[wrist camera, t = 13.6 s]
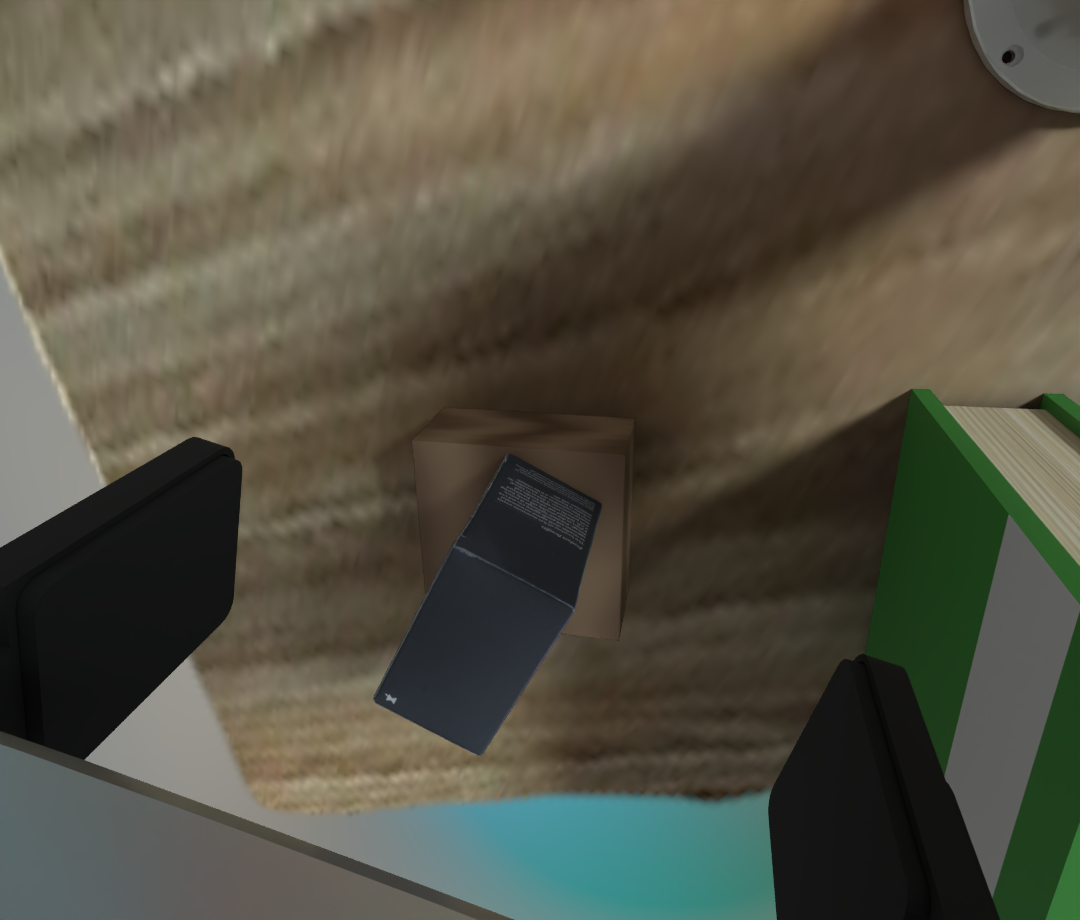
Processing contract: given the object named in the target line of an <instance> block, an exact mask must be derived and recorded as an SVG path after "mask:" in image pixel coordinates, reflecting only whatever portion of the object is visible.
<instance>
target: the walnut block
mask: <svg viewBox="0 0 1080 920" xmlns="http://www.w3.org/2000/svg"><path fill="white" fill-rule="evenodd" d="M634 432H635V419H634V418H617V417H600V416H582V415H565V414H548V413H531V412H513V411H496V410H479V409H462V408H443V409H442V410H441V411H440V412H439V413H438V414H437V415H436V416H435V417H434V418H433V419H432V420H431V422H430V423H429V424H428V425H427V426H426V427H425V428H424V429H423V430H422V431H421V432H420V433H419V434H418V435H417V436H416V437H415V438H414V439H413V440H412V449H413V460H414V471H415V482H416V493H417V505H418V516H419V527H420V538H421V549H422V561H423V572H424V583H425V594H427V592H428V590H429V588H430V586H431V584H432V582H433V580H434V578H435V576H436V574H437V573H438V571H439V569H440V567H441V565H442V563H443V561H444V559H445V557H446V555H447V554H448V552H449V550H450V548H451V546H452V544H453V543H454V541H455V540H456V538H457V537H458V536H459V534H460V533H461V531H462V530H463V529H464V527H465V526H466V524H467V522H468V520H469V519H470V517H471V515H472V514H473V512H474V510H475V508H476V507H477V505H478V503H479V501H480V500H481V498H482V496H483V494H484V493H485V491H486V489H487V487H488V486H489V484H490V482H491V480H492V478H493V477H494V475H495V473H496V471H497V470H498V468H499V466H500V464H501V462H502V460H503V458H504V456H505V455H506V454H512V455H514V456H516V457H518V458H520V459H522V460H523V461H525V462H527V463H529V464H531V465H532V466H534V467H536V468H538V469H540V470H542V471H544V472H545V473H547V474H549V475H551V476H553V477H555V478H557V479H559V480H560V481H562V482H564V483H566V484H568V485H569V486H571V487H573V488H575V489H577V490H578V491H580V492H582V493H584V494H586V495H587V496H589V497H591V498H593V499H595V500H596V501H598V502H600V503H601V504H602V510H601V513H600V518H599V521H598V525H597V528H596V531H595V535H594V539H593V543H592V547H591V550H590V554H589V557H588V561H587V565H586V569H585V573H584V576H583V580H582V584H581V588H580V591H579V595H578V600H577V603H576V607H575V612H574V613H573V615H572V616H571V618H570V619H569V621H568V623H567V624H566V626H565V627H564V629H563V630H562V632H561V633H560V634H566V635H575V636H584V637H592V638H601V639H610V640H618V641H619V638H620V633H621V627H622V622H623V616H624V611H625V605H626V600H627V595H628V589H629V565H630V538H631V512H632V485H633V459H634Z"/></svg>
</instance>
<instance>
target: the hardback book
mask: <svg viewBox="0 0 1080 920" xmlns="http://www.w3.org/2000/svg"><path fill="white" fill-rule="evenodd" d="M865 654H866V655H868V656H871V657H874V658H878V659H881V660H884V661H887V662H890V663H893V664H896V665H899V666H901V667H903V668H905V670H906V672H907V674H908V677H909V680H910V682H911V685H912V688H913V691H914V693H915V696H916V699H917V702H918V705H919V707H920V710H921V713H922V716H923V718H924V721H925V724H926V727H927V730H928V732H929V735H930V738H931V741H932V743H933V746H934V749H935V752H936V755H937V757H938V760H939V763H940V766H941V769H942V771H943V774H944V777H945V780H946V782H947V783H949V785H950V787H951V789H952V791H953V793H954V795H955V797H956V800H957V803H958V806H959V808H960V811H961V814H962V816H963V819H964V822H965V825H966V827H967V830H968V833H969V836H970V838H971V841H972V844H973V847H974V849H975V852H976V855H977V858H978V860H979V863H980V866H981V869H982V871H983V874H984V877H985V879H986V882H987V885H988V888H989V890H990V893H991V896H992V899H993V901H994V904H995V907H996V910H997V912H998V915H999V918H1000V920H1080V406H1079V405H1077V404H1076V403H1075V402H1073V401H1072V400H1071V399H1069V398H1068V397H1067V396H1065V395H1064V394H1045V393H1044V394H1043V398H1042V403H1041V407H1040V409H1015V408H989V407H963V406H943V404H942V403H941V402H940V401H939V400H938V398H937V397H936V396H935V395H934V394H933V393H932V391H931V390H929V389H911V395H910V401H909V406H908V412H907V418H906V423H905V429H904V435H903V441H902V446H901V452H900V458H899V464H898V469H897V475H896V481H895V486H894V492H893V498H892V504H891V509H890V515H889V521H888V526H887V532H886V538H885V544H884V549H883V555H882V561H881V566H880V572H879V578H878V584H877V589H876V595H875V601H874V606H873V612H872V618H871V624H870V629H869V635H868V641H867V646H866V652H865Z"/></svg>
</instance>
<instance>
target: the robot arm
mask: <svg viewBox="0 0 1080 920" xmlns="http://www.w3.org/2000/svg"><path fill="white" fill-rule="evenodd" d="M964 12H965V19H966V23H967V26H968V30H969V33H970V36H971V40H972V43H973V45H974V47H975V49H976V51H977V53H978V54H979V56H980V58H981V60H982V62H983V63H984V65H985V67H986V68H987V69H988V70H989V71H990V72H991V74H992V75H993V76H994V77H995V78H996V79H997V80H998V81H999V82H1000V83H1001V84H1002V85H1003V86H1004V87H1005V88H1007V89H1008V90H1010V91H1011V92H1013V93H1014V94H1016V95H1017V96H1019V97H1020V98H1022V99H1023V100H1025V101H1028V102H1031V103H1033V104H1036V105H1039V106H1041V107H1044V108H1047V109H1050V110H1057V111H1064V112H1070V113H1080V0H964ZM1006 51H1009V52H1010V53H1011V55H1012V57H1011V60H1010V61H1009V63H1007V64H1005V63H1004V62H1003V61H1002V55H1003V54H1004V52H1006ZM241 482H242V465H241V463H240V462H239V461H238V460H235V456H234V453H233V451H232V450H231V449H230V448H228V447H225V446H222V445H219V444H216V443H213V442H210V441H207V440H204V439H201V438H197V437H192V438H189V439H187V440H185V441H184V442H182V443H180V444H179V445H177V446H175V447H173V448H172V449H170V450H168V451H166V452H165V453H163V454H161V455H160V456H158V457H156V458H154V459H153V460H151V461H149V462H147V463H146V464H144V465H142V466H141V467H139V468H137V469H135V470H134V471H132V472H130V473H128V474H127V475H125V476H123V477H122V478H120V479H118V480H116V481H115V482H113V483H111V484H109V485H108V486H106V487H104V488H103V489H101V490H99V491H97V492H96V493H94V494H92V495H90V496H89V497H87V498H85V499H84V500H82V501H80V502H78V503H77V504H75V505H73V506H72V507H70V508H68V509H66V510H65V511H63V512H61V513H59V514H58V515H56V516H54V517H53V518H51V519H49V520H47V521H46V522H44V523H42V524H41V525H39V526H37V527H35V528H34V529H32V530H30V531H28V532H27V533H25V534H23V535H22V536H20V537H18V538H16V539H15V540H13V541H11V542H9V543H8V544H6V545H4V546H3V547H1V548H0V920H513V919H511V918H508V917H506V916H503V915H500V914H498V913H495V912H492V911H490V910H487V909H484V908H482V907H479V906H476V905H474V904H471V903H468V902H466V901H463V900H460V899H457V898H455V897H452V896H450V895H447V894H444V893H442V892H439V891H436V890H434V889H431V888H428V887H426V886H423V885H420V884H418V883H415V882H412V881H409V880H407V879H404V878H402V877H399V876H396V875H394V874H391V873H388V872H386V871H383V870H380V869H378V868H375V867H372V866H370V865H367V864H364V863H362V862H359V861H356V860H354V859H351V858H348V857H345V856H343V855H340V854H337V853H335V852H332V851H329V850H327V849H324V848H321V847H319V846H316V845H313V844H310V843H308V842H305V841H303V840H300V839H297V838H294V837H292V836H289V835H286V834H284V833H281V832H278V831H276V830H273V829H270V828H268V827H265V826H262V825H259V824H257V823H254V822H251V821H249V820H246V819H243V818H240V817H238V816H235V815H232V814H229V813H227V812H224V811H221V810H219V809H216V808H213V807H210V806H208V805H205V804H202V803H199V802H197V801H194V800H191V799H189V798H186V797H183V796H180V795H177V794H175V793H172V792H170V791H167V790H164V789H161V788H159V787H156V786H153V785H151V784H148V783H145V782H142V781H140V780H137V779H134V778H131V777H128V776H126V775H123V774H121V773H118V772H115V771H112V770H109V769H107V768H104V767H101V766H99V765H96V764H93V763H91V762H88V761H85V759H86V757H88V756H89V754H90V753H91V752H93V751H94V750H95V748H97V747H98V746H99V745H100V744H101V743H102V742H103V741H104V740H105V739H106V738H107V737H108V736H109V735H110V734H111V733H112V732H113V731H114V730H115V729H116V728H117V727H118V726H119V725H120V724H121V723H122V722H123V721H124V720H125V719H126V718H127V717H128V716H129V715H130V714H131V713H132V712H133V711H134V710H135V709H136V708H137V707H138V706H139V705H140V704H141V703H142V702H143V701H144V700H145V699H146V698H147V697H148V696H149V695H150V694H151V693H152V692H153V691H154V690H155V689H156V688H157V687H158V686H159V685H160V684H161V683H162V682H163V681H164V680H165V679H166V678H167V677H168V676H169V675H170V674H171V673H172V672H173V671H174V670H175V669H176V668H177V667H178V666H179V665H180V664H181V663H182V662H183V661H184V660H185V659H186V658H187V657H188V656H189V655H190V654H191V653H192V652H193V651H194V650H195V649H196V648H197V647H198V646H199V645H200V644H201V643H202V642H203V641H204V640H205V639H206V638H207V637H208V636H209V635H210V634H211V633H212V632H213V631H214V630H215V629H216V628H217V627H218V626H219V625H220V624H221V623H222V622H223V621H224V620H225V619H226V617H227V615H228V614H229V611H230V609H231V607H232V603H233V598H234V584H235V569H236V555H237V540H238V526H239V511H240V497H241ZM768 814H769V828H770V839H771V852H772V865H773V877H774V888H775V902H776V914H777V920H1000V918H999V915H998V912H997V910H996V907H995V904H994V901H993V899H992V896H991V893H990V890H989V888H988V885H987V882H986V879H985V877H984V874H983V871H982V869H981V866H980V863H979V860H978V858H977V855H976V852H975V849H974V847H973V844H972V841H971V838H970V836H969V833H968V830H967V827H966V825H965V822H964V819H963V816H962V814H961V811H960V808H959V806H958V803H957V800H956V797H955V795H954V793H953V791H952V789H951V787H950V785H949V783H947V782H946V780H945V777H944V774H943V771H942V769H941V766H940V763H939V760H938V757H937V755H936V752H935V749H934V746H933V743H932V741H931V738H930V735H929V732H928V730H927V727H926V724H925V721H924V718H923V716H922V713H921V710H920V707H919V705H918V702H917V699H916V696H915V693H914V691H913V688H912V685H911V682H910V680H909V677H908V674H907V672H906V670H905V668H903V667H901V666H899V665H896V664H893V663H890V662H887V661H884V660H881V659H878V658H874V657H871V656H868V655H865V654H861V655H859V656H857V657H856V658H855V660H854V661H851V660H848V659H844V660H843V661H841V662H840V664H839V665H838V667H837V669H836V671H835V673H834V674H833V676H832V678H831V680H830V682H829V684H828V686H827V687H826V689H825V691H824V693H823V695H822V697H821V699H820V700H819V702H818V704H817V706H816V708H815V710H814V712H813V713H812V715H811V717H810V719H809V721H808V723H807V725H806V726H805V728H804V730H803V732H802V734H801V736H800V738H799V740H798V741H797V743H796V745H795V747H794V749H793V751H792V753H791V754H790V756H789V758H788V760H787V762H786V764H785V766H784V767H783V769H782V771H781V773H780V775H779V777H778V779H777V780H776V782H775V784H774V786H773V789H772V792H771V795H770V799H769V807H768Z"/></svg>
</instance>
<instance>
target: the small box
mask: <svg viewBox="0 0 1080 920" xmlns="http://www.w3.org/2000/svg"><path fill="white" fill-rule="evenodd" d="M601 510H602V504H601V503H600V502H598V501H596V500H595V499H593V498H591V497H589V496H587V495H586V494H584V493H582V492H580V491H578V490H577V489H575V488H573V487H571V486H569V485H568V484H566V483H564V482H562V481H560V480H559V479H557V478H555V477H553V476H551V475H549V474H547V473H545V472H544V471H542V470H540V469H538V468H536V467H534V466H532V465H531V464H529V463H527V462H525V461H523V460H522V459H520V458H518V457H516V456H514V455H512V454H506V455H505V456H504V458H503V460H502V462H501V464H500V466H499V468H498V470H497V471H496V473H495V475H494V477H493V478H492V480H491V482H490V484H489V486H488V487H487V489H486V491H485V493H484V494H483V496H482V498H481V500H480V501H479V503H478V505H477V507H476V508H475V510H474V512H473V514H472V515H471V517H470V519H469V520H468V522H467V524H466V526H465V527H464V529H463V530H462V531H461V533H460V534H459V536H458V537H457V538H456V540H455V541H454V543H453V544H452V546H451V548H450V550H449V552H448V554H447V555H446V557H445V559H444V561H443V563H442V565H441V567H440V569H439V571H438V573H437V574H436V576H435V578H434V580H433V582H432V584H431V586H430V588H429V590H428V592H427V594H426V596H425V598H424V599H423V601H422V603H421V605H420V608H419V609H418V611H417V613H416V615H415V617H414V619H413V621H412V623H411V625H410V627H409V629H408V630H407V632H406V634H405V636H404V638H403V640H402V642H401V644H400V646H399V648H398V650H397V652H396V654H395V656H394V658H393V660H392V661H391V663H390V665H389V668H388V669H387V671H386V673H385V675H384V677H383V679H382V681H381V683H380V685H379V687H378V689H377V691H376V693H375V695H374V697H373V700H374V702H375V703H376V704H378V705H380V706H382V707H384V708H386V709H388V710H390V711H392V712H394V713H396V714H398V715H400V716H402V717H403V718H406V719H407V720H409V721H411V722H413V723H415V724H417V725H419V726H421V727H423V728H425V729H427V730H429V731H430V732H432V733H434V734H437V735H438V736H440V737H442V738H444V739H446V740H448V741H450V742H452V743H454V744H456V745H458V746H460V747H462V748H464V749H466V750H468V751H470V752H472V753H473V754H475V755H477V756H481V755H482V754H483V753H484V751H485V750H486V748H487V747H488V745H489V744H490V742H491V741H492V739H493V737H494V736H495V734H496V733H497V731H498V729H499V728H500V726H501V725H502V723H503V722H504V720H505V719H506V717H507V715H508V714H509V712H510V711H511V709H512V708H513V706H514V704H515V703H516V701H517V700H518V698H519V697H520V695H521V693H522V692H523V690H524V689H525V687H526V686H527V684H528V683H529V681H530V679H531V678H532V676H533V675H534V673H535V672H536V670H537V669H538V667H539V666H540V664H541V663H542V661H543V659H544V658H545V656H546V655H547V653H548V652H549V650H550V649H551V647H552V646H553V644H554V643H555V641H556V639H557V638H558V636H559V635H560V633H561V632H562V630H563V629H564V627H565V626H566V624H567V623H568V621H569V619H570V618H571V616H572V615H573V613H574V612H575V607H576V603H577V600H578V595H579V591H580V588H581V584H582V580H583V576H584V573H585V569H586V565H587V561H588V557H589V554H590V550H591V547H592V543H593V539H594V535H595V531H596V528H597V525H598V521H599V518H600V513H601Z"/></svg>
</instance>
